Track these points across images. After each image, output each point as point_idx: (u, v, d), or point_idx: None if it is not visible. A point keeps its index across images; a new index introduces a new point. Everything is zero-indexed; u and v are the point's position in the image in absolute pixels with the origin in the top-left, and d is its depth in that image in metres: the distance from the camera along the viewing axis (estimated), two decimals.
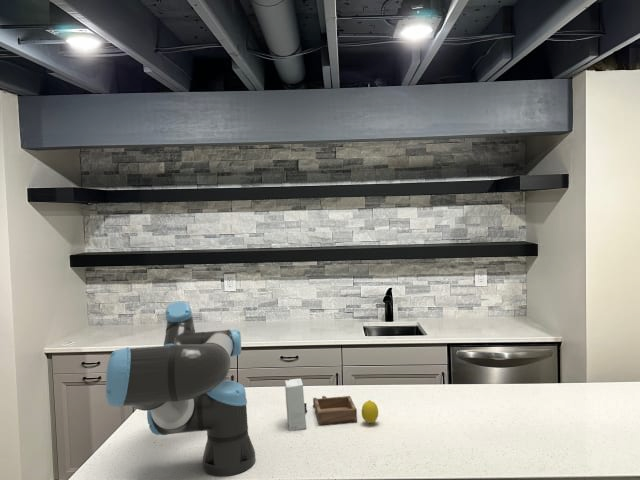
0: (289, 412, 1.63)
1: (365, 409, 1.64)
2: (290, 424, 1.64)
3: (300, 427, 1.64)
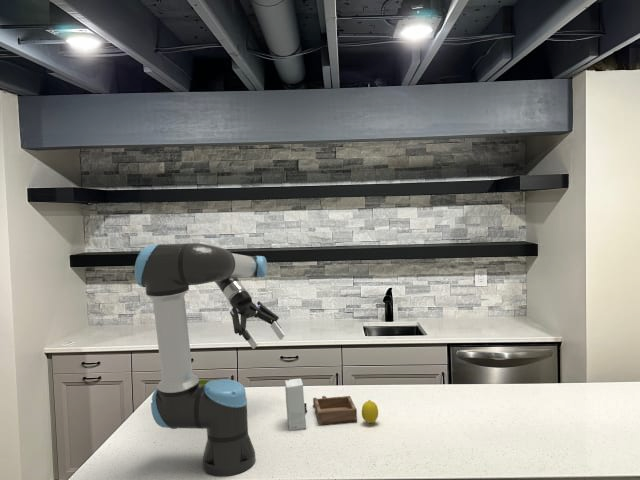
0: (289, 412, 1.63)
1: (365, 409, 1.64)
2: (290, 424, 1.64)
3: (300, 427, 1.64)
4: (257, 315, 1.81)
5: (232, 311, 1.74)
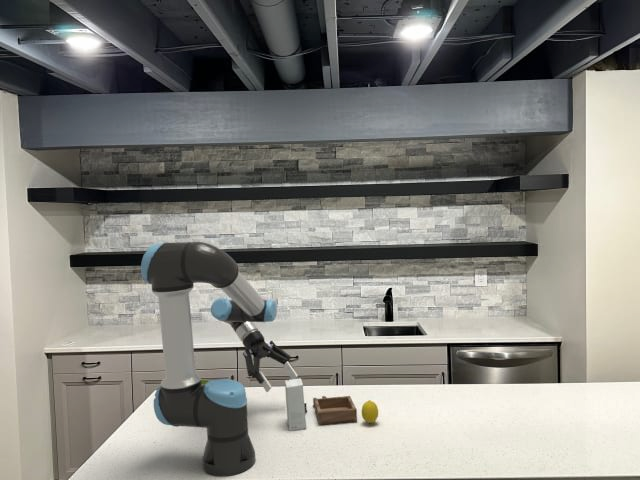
0: (289, 412, 1.63)
1: (365, 409, 1.64)
2: (290, 424, 1.64)
3: (300, 427, 1.64)
4: (270, 355, 1.80)
5: (245, 352, 1.73)
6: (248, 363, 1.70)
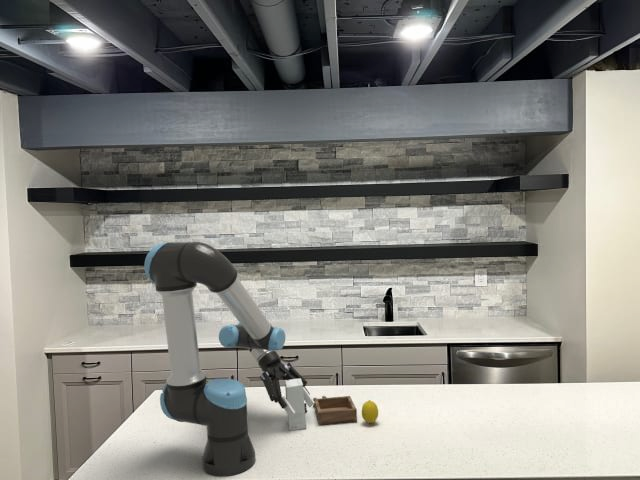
0: None
1: (365, 409, 1.64)
2: (290, 424, 1.63)
3: (300, 427, 1.64)
4: (285, 378, 1.73)
5: (263, 376, 1.67)
6: (268, 387, 1.64)
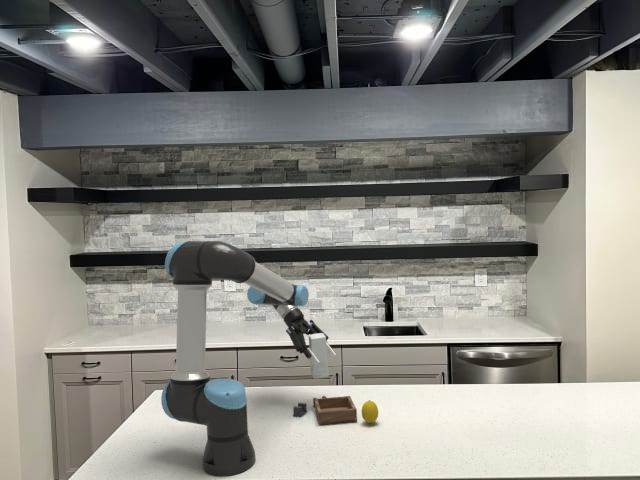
0: None
1: (365, 409, 1.64)
2: (314, 373, 1.78)
3: (323, 376, 1.78)
4: (309, 333, 1.87)
5: (289, 330, 1.81)
6: (294, 339, 1.79)
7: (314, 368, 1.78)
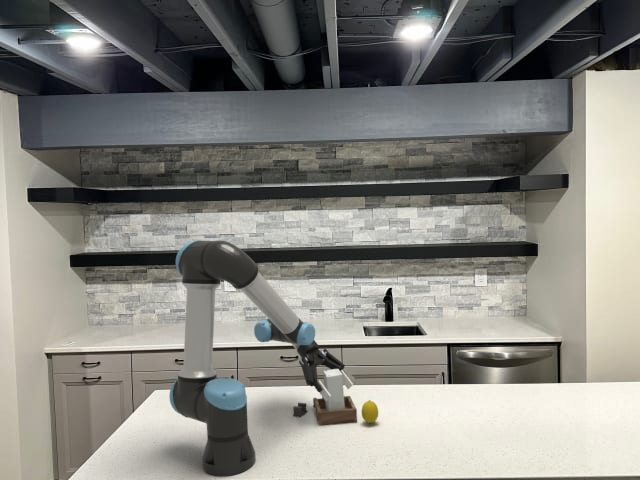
0: (329, 401, 1.69)
1: (365, 409, 1.64)
2: None
3: None
4: (324, 363, 1.79)
5: (302, 361, 1.72)
6: (306, 371, 1.70)
7: (330, 407, 1.69)
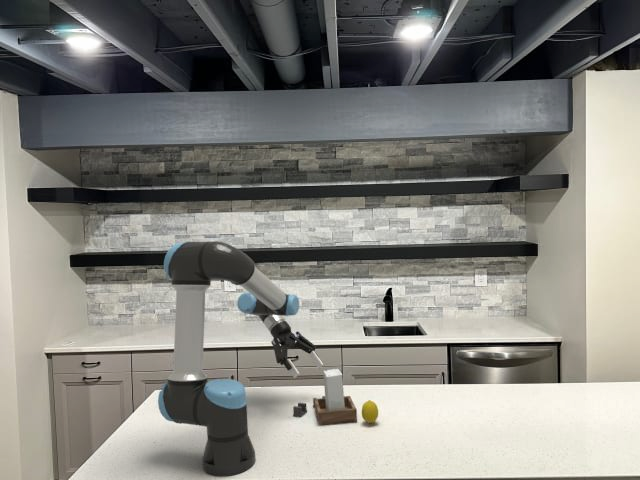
0: (329, 401, 1.69)
1: (365, 409, 1.64)
2: None
3: None
4: (296, 345, 1.88)
5: (273, 341, 1.81)
6: (276, 351, 1.78)
7: (330, 407, 1.69)
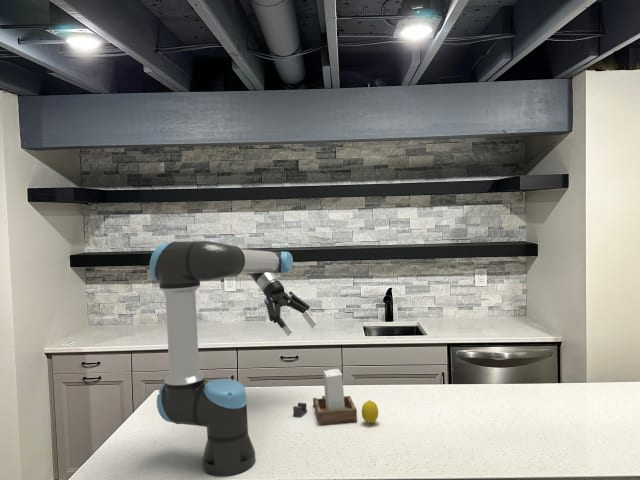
0: (329, 401, 1.69)
1: (365, 409, 1.64)
2: None
3: None
4: (289, 304, 1.87)
5: (266, 300, 1.80)
6: (269, 309, 1.77)
7: (330, 407, 1.69)
